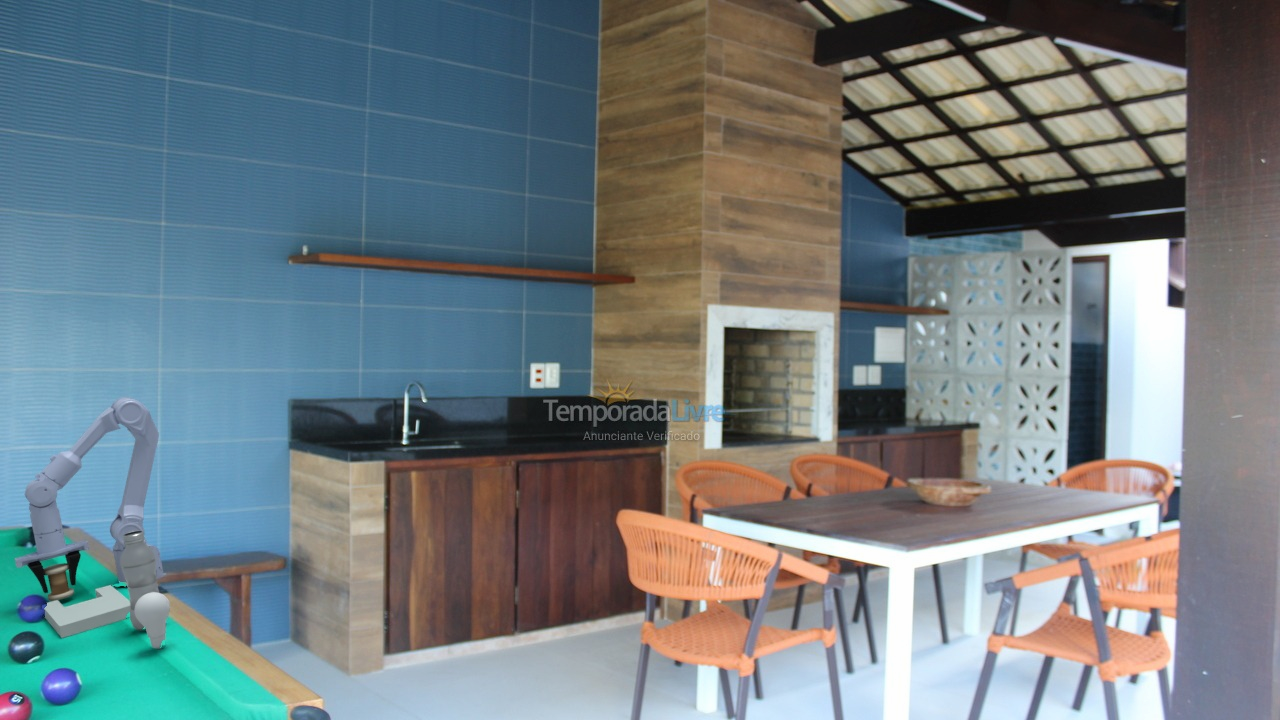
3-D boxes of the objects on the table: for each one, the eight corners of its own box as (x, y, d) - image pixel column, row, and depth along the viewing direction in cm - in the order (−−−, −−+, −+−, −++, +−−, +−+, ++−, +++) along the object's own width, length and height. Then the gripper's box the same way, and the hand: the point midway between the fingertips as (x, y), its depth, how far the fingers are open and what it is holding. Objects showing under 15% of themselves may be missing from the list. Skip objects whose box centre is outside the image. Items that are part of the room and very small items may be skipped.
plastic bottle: (154, 633, 198) (136, 537, 196) (125, 634, 200) (107, 539, 197) (175, 621, 204) (158, 527, 202) (147, 622, 206) (129, 529, 203)
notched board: (136, 615, 211) (133, 604, 211) (61, 638, 202) (59, 626, 202) (112, 595, 228) (110, 584, 228) (43, 615, 219) (40, 604, 219)
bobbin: (79, 591, 230) (73, 562, 229) (61, 600, 225) (55, 570, 224) (61, 592, 231) (55, 563, 230) (42, 600, 226) (36, 571, 225)
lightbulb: (135, 653, 188) (124, 598, 187) (163, 640, 193) (153, 586, 192) (156, 656, 185) (145, 600, 184) (184, 643, 191) (174, 588, 189)
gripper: (80, 520, 234) (90, 575, 235) (8, 537, 224) (20, 594, 226) (86, 524, 228) (97, 580, 230) (13, 542, 219) (25, 601, 221)
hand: (59, 588), depth 228 cm, fingers closed on bobbin, 5 cm apart
